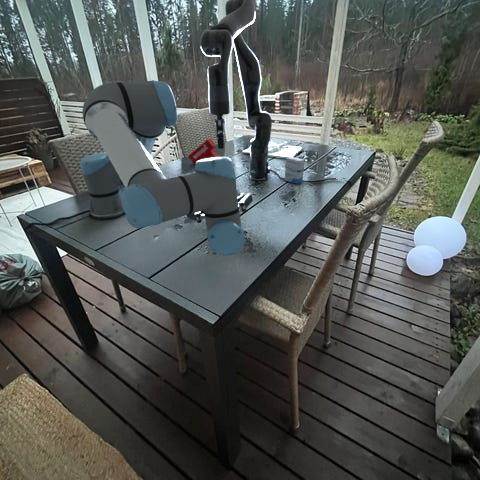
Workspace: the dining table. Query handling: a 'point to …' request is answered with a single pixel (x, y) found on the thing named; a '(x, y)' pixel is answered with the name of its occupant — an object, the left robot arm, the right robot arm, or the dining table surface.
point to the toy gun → (204, 151)
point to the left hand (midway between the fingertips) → (217, 198)
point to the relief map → (280, 150)
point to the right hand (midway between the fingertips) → (221, 145)
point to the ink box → (294, 170)
